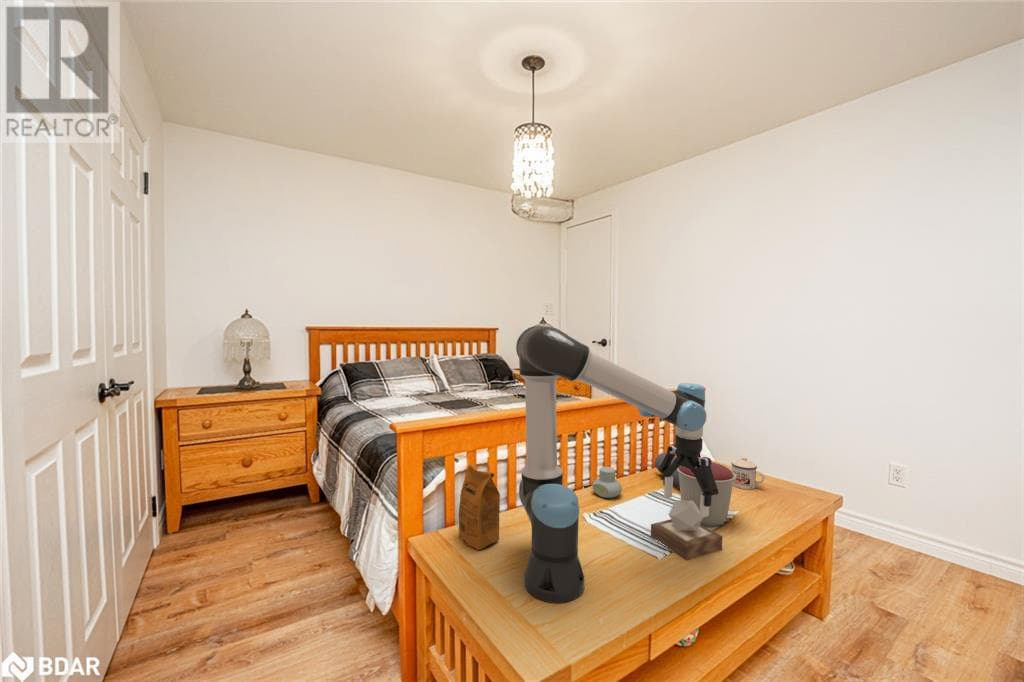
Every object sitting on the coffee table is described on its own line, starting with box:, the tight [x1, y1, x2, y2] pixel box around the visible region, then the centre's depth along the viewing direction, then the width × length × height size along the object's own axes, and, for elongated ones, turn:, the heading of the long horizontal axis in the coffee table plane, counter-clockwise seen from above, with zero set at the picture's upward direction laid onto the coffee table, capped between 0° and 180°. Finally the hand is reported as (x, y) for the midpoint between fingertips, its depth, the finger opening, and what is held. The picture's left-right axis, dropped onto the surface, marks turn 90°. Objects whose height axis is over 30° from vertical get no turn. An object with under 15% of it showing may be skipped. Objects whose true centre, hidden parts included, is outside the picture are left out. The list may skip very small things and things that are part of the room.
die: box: [668, 499, 703, 531], centre depth 128 cm, size 8×9×10 cm
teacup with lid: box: [730, 456, 765, 491], centre depth 171 cm, size 12×9×12 cm
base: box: [650, 518, 723, 561], centre depth 128 cm, size 14×14×4 cm
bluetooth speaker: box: [654, 452, 680, 489], centre depth 173 cm, size 23×9×10 cm, turn 10°
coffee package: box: [457, 463, 501, 551], centre depth 129 cm, size 10×12×22 cm
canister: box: [677, 456, 736, 527], centre depth 143 cm, size 18×18×21 cm
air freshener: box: [591, 466, 623, 499], centre depth 162 cm, size 11×8×10 cm
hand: (685, 506), depth 127 cm, fingers open, 13 cm apart
